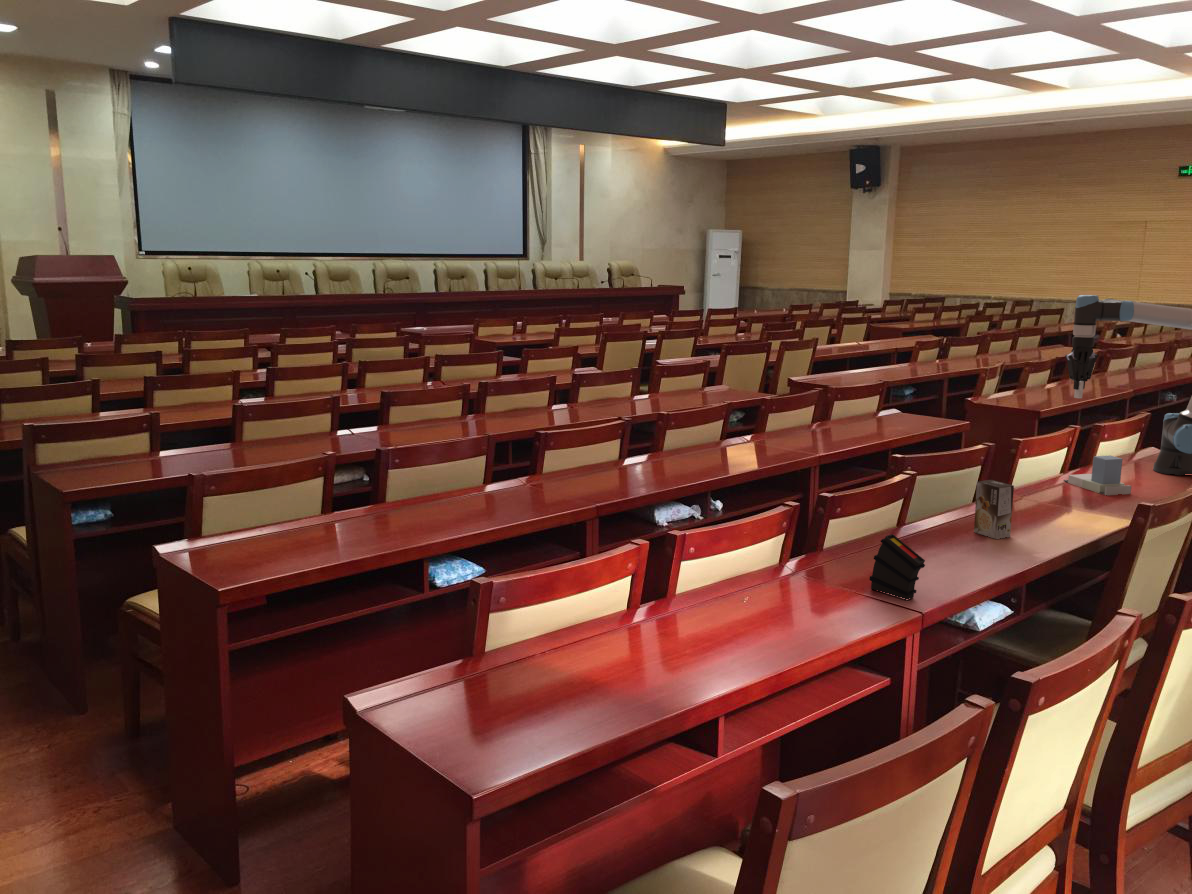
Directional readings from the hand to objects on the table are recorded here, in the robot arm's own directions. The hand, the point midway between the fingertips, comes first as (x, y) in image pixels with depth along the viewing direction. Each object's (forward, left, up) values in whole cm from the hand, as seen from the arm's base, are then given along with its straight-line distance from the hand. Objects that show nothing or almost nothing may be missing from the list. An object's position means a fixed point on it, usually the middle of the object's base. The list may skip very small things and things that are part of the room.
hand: (1078, 397), depth 368 cm
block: (+7, +27, -26) cm, 39 cm away
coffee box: (+80, +68, -30) cm, 109 cm away
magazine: (+135, +110, -30) cm, 177 cm away
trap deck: (+7, +23, -29) cm, 38 cm away
